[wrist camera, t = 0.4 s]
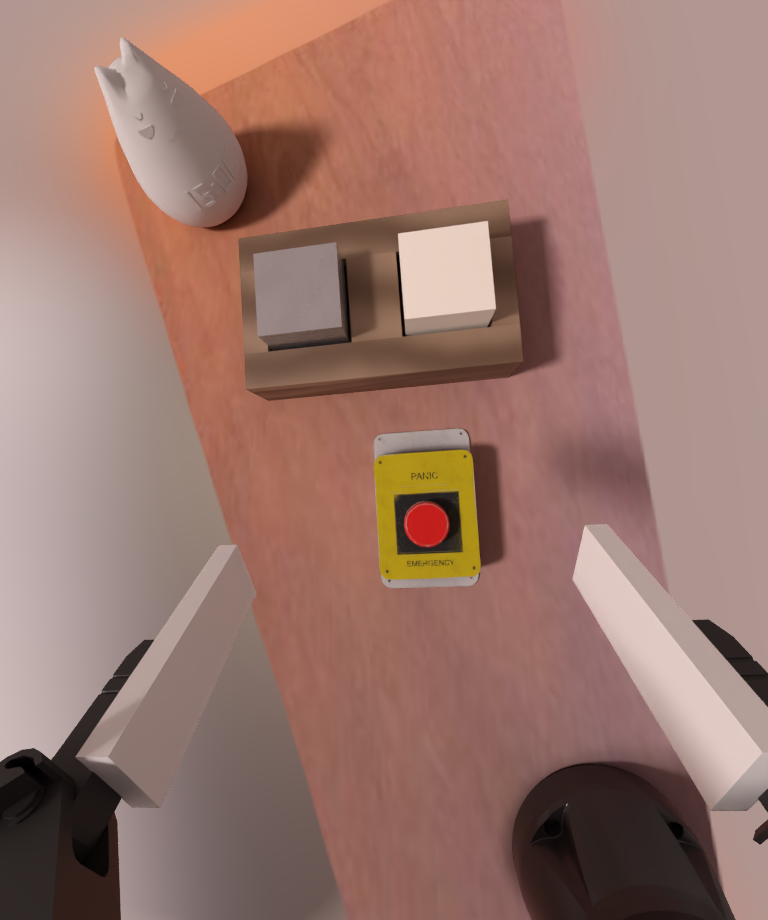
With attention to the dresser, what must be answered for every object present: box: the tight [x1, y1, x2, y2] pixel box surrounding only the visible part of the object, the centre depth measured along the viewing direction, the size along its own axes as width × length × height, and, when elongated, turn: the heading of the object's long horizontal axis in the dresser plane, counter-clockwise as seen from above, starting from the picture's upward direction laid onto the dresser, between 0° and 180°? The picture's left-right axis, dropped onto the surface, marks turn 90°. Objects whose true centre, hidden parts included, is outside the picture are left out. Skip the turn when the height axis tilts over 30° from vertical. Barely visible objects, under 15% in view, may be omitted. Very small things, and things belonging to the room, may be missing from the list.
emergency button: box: [374, 428, 481, 588], centre depth 31 cm, size 9×4×15 cm
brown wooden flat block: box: [239, 200, 523, 401], centre depth 31 cm, size 14×24×4 cm, turn 94°
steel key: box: [253, 242, 350, 351], centre depth 29 cm, size 7×7×3 cm
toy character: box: [94, 37, 248, 227], centre depth 30 cm, size 10×10×12 cm
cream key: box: [398, 221, 496, 336], centre depth 28 cm, size 7×7×3 cm
